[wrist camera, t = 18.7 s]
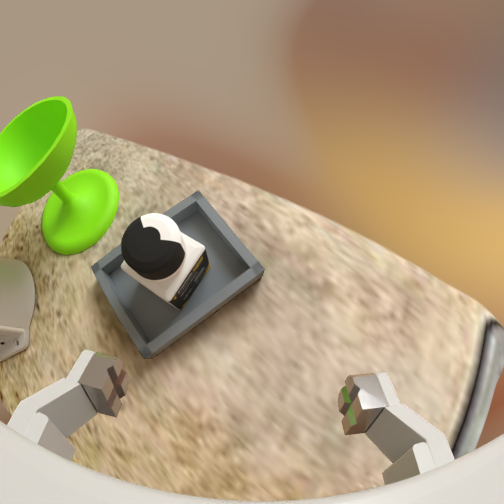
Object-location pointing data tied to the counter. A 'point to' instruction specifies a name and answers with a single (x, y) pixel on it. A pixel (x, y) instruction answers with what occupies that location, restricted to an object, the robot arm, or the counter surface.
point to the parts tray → (205, 295)
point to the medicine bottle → (163, 258)
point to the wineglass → (55, 177)
